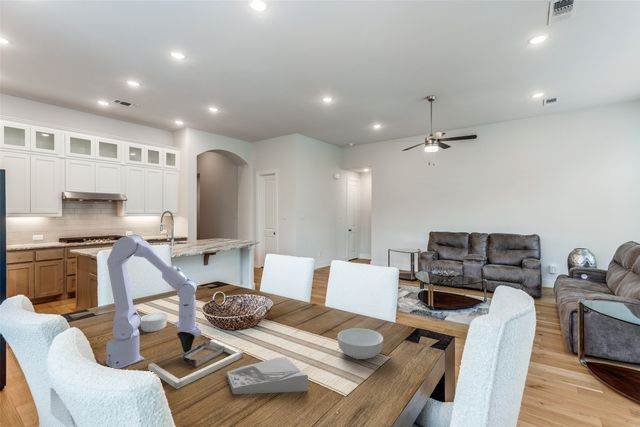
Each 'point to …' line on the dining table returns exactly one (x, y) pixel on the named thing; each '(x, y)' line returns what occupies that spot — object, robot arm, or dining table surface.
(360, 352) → the cereal bowl
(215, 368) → the trivet frame
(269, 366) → the door stopper
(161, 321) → the ramekin
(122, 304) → the robot arm
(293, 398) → the dining table surface
